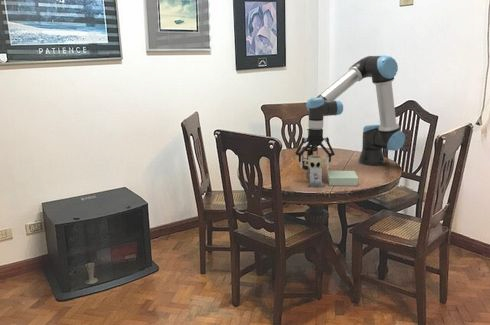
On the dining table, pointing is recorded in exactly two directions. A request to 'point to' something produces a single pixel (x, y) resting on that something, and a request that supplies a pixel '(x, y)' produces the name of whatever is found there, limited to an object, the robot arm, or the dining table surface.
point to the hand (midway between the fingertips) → (314, 168)
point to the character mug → (314, 162)
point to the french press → (308, 154)
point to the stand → (342, 178)
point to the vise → (315, 177)
